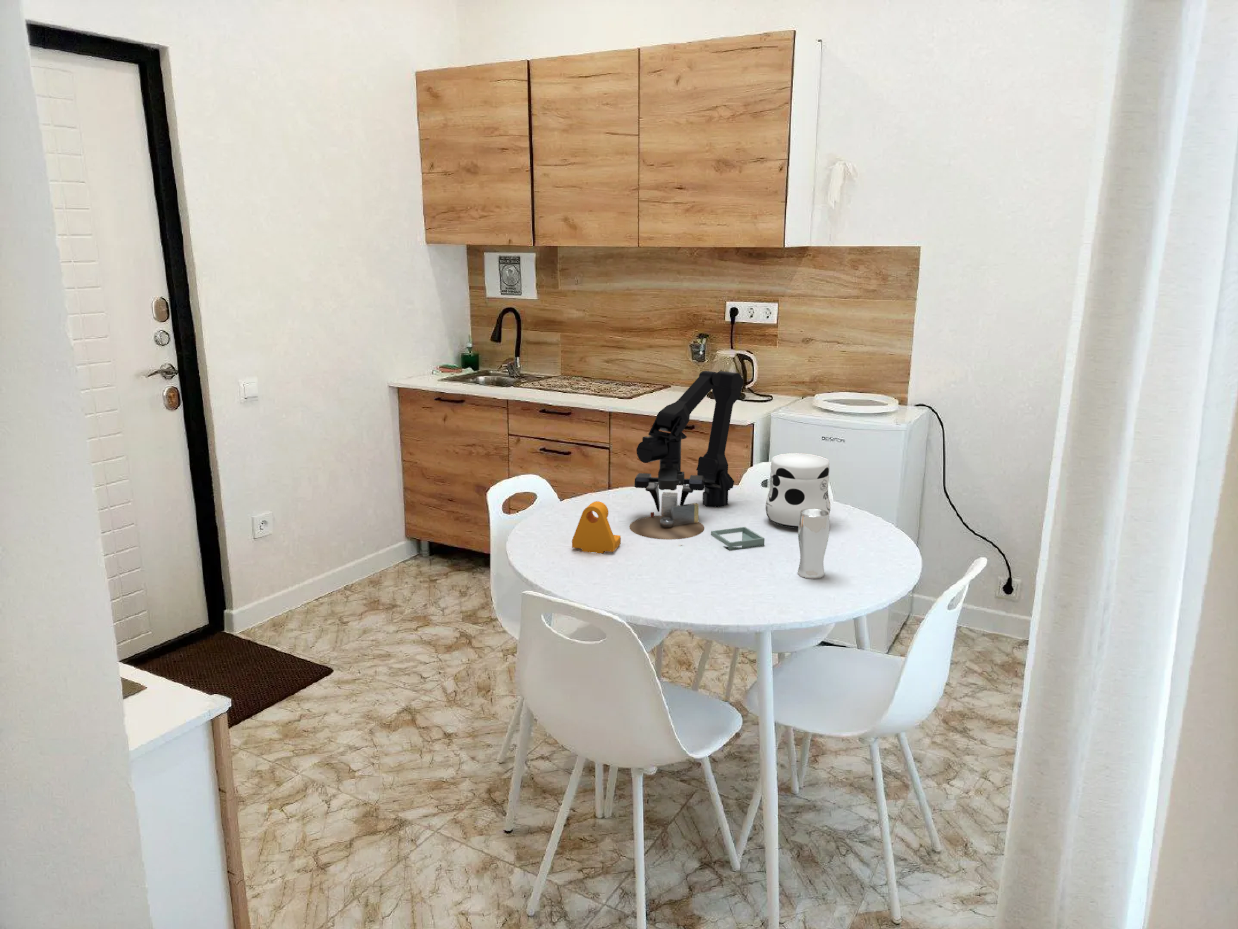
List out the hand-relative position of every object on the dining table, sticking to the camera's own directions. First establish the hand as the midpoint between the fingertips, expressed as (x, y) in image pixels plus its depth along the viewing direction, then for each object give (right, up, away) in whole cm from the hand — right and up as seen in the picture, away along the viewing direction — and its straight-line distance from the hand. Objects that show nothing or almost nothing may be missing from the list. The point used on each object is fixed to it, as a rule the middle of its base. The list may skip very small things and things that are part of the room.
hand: (669, 511), depth 238 cm
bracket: (-19, -8, -19) cm, 28 cm away
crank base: (-1, -5, -6) cm, 8 cm away
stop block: (0, -2, +1) cm, 2 cm away
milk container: (+35, -3, +1) cm, 35 cm away
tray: (+17, -7, -15) cm, 23 cm away
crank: (+2, -3, -5) cm, 6 cm away
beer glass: (+31, -13, -37) cm, 49 cm away
